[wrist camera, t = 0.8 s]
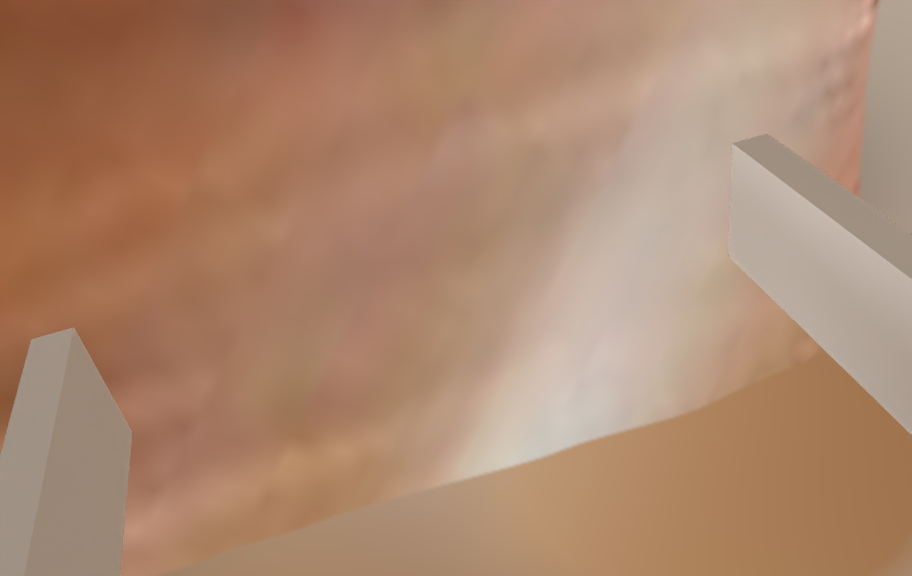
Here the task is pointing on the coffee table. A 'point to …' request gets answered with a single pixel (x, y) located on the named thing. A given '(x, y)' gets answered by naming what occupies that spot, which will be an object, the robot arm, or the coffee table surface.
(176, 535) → the coffee table surface
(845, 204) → the robot arm
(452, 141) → the coffee table surface
